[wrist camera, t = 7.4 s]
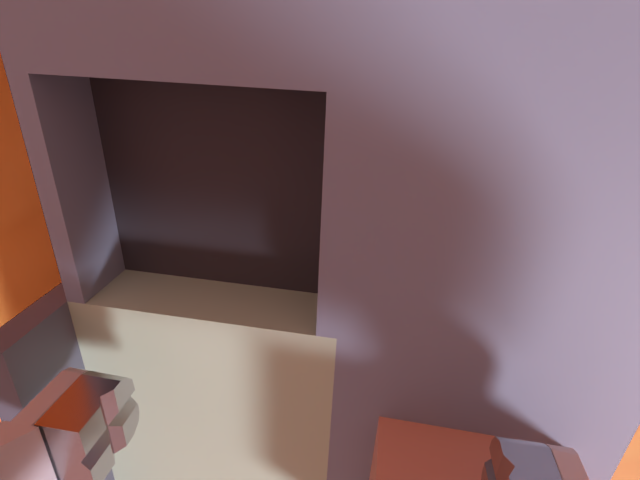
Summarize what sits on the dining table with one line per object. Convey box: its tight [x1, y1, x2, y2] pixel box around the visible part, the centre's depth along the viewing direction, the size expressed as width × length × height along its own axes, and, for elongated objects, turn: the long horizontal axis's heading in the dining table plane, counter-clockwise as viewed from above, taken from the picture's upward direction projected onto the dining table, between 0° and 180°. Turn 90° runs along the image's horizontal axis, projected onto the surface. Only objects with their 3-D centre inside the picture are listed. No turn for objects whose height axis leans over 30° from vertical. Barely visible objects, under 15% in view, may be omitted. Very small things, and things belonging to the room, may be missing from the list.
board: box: [0, 0, 640, 480], centre depth 12 cm, size 30×15×4 cm, turn 177°
